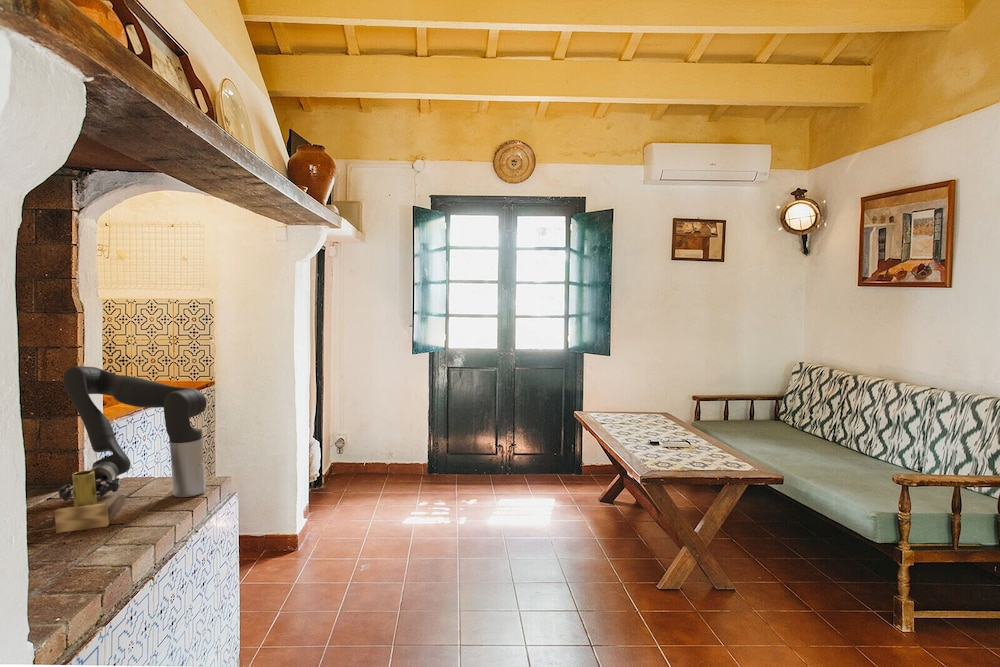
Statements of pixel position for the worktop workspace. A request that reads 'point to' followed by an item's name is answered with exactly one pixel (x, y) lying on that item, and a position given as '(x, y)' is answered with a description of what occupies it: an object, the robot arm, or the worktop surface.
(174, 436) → the robot arm
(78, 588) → the worktop surface
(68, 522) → the track
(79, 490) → the vase
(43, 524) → the worktop surface
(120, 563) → the worktop surface
